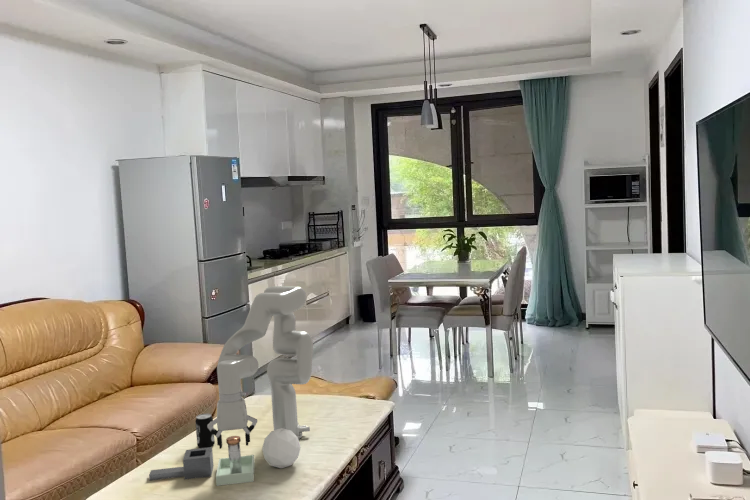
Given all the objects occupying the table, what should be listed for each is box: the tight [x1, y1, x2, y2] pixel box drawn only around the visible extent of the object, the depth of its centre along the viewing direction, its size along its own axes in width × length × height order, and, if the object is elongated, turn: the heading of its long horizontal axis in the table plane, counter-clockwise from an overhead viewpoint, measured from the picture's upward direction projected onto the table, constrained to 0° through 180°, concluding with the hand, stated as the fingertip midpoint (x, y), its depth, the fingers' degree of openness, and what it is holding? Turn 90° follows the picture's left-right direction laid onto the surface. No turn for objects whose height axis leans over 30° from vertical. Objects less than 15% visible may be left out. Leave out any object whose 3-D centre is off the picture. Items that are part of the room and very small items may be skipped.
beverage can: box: [194, 413, 216, 449], centre depth 256 cm, size 7×7×12 cm
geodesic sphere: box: [262, 426, 302, 469], centre depth 234 cm, size 14×14×14 cm
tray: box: [215, 454, 255, 487], centre depth 229 cm, size 15×12×3 cm
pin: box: [225, 435, 242, 474], centre depth 228 cm, size 5×5×12 cm
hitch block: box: [148, 446, 214, 481], centre depth 231 cm, size 21×9×7 cm, turn 99°
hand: (234, 445), depth 228 cm, fingers open, 8 cm apart
